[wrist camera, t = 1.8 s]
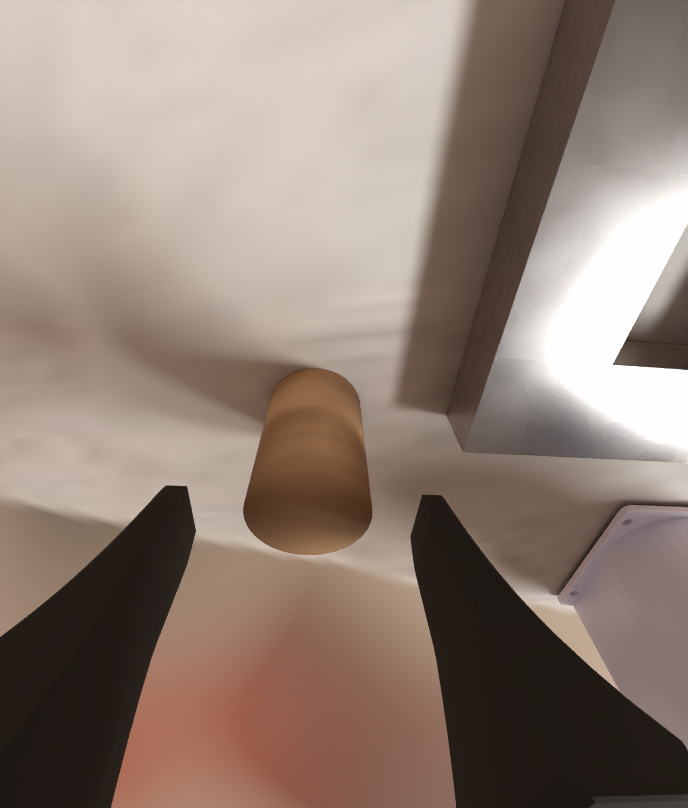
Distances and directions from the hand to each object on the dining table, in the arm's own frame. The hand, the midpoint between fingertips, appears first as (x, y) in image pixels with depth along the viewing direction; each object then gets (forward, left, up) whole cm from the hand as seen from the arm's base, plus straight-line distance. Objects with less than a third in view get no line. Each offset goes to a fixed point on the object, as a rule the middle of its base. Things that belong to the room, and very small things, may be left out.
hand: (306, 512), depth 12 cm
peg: (0, 0, -6) cm, 6 cm away
